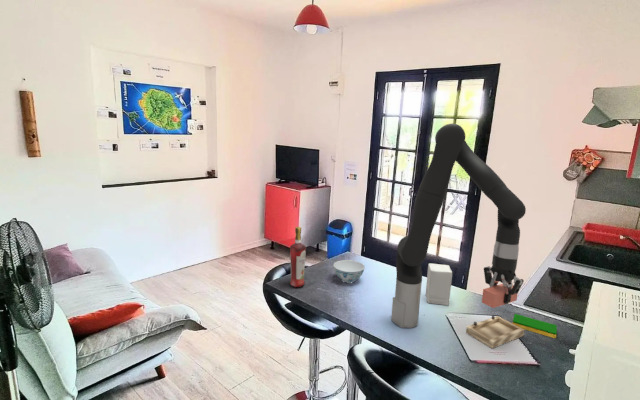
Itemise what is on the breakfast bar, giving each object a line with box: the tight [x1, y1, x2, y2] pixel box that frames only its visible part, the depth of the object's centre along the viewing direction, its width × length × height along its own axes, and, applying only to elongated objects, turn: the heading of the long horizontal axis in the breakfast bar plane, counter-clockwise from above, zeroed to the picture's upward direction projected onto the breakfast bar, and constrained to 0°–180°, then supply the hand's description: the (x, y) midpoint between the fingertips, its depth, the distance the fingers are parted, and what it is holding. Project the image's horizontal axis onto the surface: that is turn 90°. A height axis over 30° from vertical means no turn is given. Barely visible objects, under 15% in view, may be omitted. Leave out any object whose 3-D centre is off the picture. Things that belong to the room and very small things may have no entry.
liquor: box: [289, 226, 307, 288], centre depth 156 cm, size 7×7×28 cm
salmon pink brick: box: [481, 283, 519, 309], centre depth 120 cm, size 13×4×6 cm, turn 118°
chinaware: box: [333, 259, 365, 284], centre depth 165 cm, size 15×15×8 cm
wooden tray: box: [465, 315, 525, 349], centre depth 123 cm, size 18×10×4 cm, turn 118°
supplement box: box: [425, 263, 453, 306], centre depth 147 cm, size 9×9×15 cm
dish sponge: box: [511, 313, 558, 339], centre depth 128 cm, size 7×14×2 cm, turn 55°
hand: (499, 299), depth 121 cm, fingers closed on salmon pink brick, 4 cm apart
